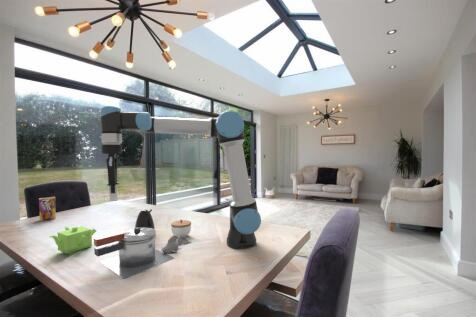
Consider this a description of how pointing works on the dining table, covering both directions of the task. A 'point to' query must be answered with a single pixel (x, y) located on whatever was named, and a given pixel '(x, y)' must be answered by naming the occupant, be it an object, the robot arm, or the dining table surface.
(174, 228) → the lidded jar
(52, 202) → the candy box
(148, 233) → the lid
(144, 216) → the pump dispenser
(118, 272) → the trivet
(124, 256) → the pot
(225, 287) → the dining table surface
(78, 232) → the kettle
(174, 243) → the goldfish
